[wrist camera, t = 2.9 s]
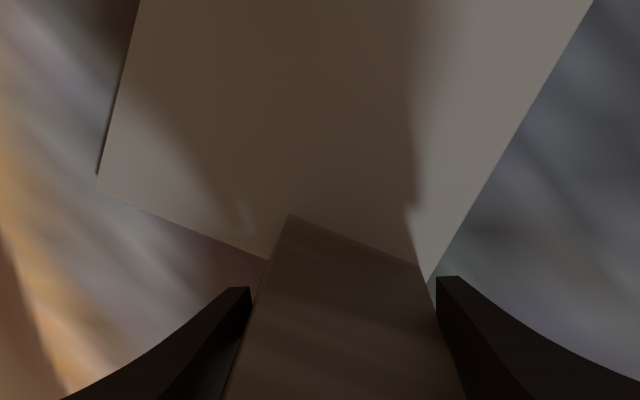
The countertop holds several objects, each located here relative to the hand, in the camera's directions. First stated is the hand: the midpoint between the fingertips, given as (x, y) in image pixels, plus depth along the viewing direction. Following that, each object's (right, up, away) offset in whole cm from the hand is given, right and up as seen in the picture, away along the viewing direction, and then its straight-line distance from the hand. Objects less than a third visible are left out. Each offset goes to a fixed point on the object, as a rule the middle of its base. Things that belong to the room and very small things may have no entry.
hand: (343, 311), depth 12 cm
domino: (0, +1, +3) cm, 3 cm away
